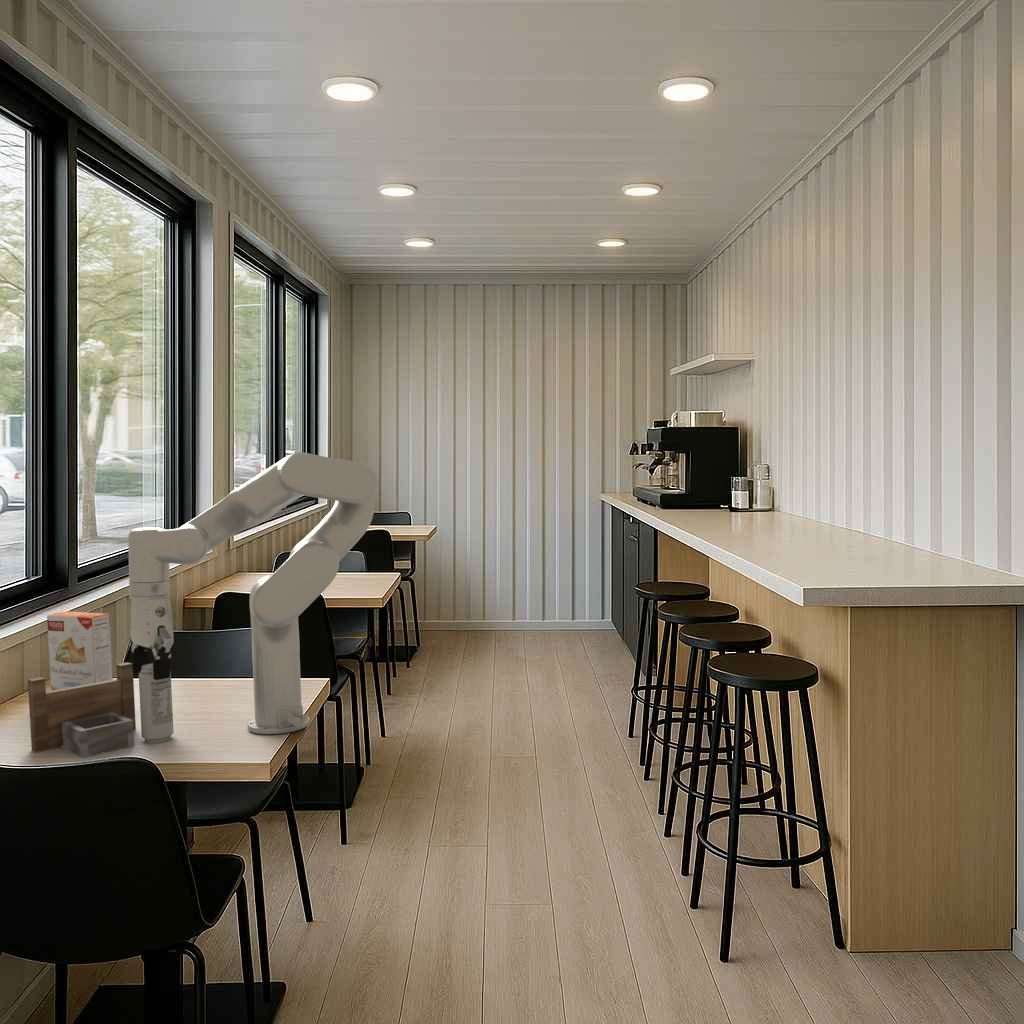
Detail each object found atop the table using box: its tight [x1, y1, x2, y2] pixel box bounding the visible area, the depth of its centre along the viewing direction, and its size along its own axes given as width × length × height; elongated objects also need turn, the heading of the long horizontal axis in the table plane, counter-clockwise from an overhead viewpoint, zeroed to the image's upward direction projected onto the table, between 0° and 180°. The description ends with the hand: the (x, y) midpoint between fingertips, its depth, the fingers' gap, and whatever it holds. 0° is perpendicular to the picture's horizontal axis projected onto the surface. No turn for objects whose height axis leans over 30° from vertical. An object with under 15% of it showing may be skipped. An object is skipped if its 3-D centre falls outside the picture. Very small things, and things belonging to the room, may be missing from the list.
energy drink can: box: [138, 662, 174, 744], centre depth 191 cm, size 6×6×15 cm
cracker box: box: [46, 610, 114, 691], centre depth 224 cm, size 14×6×21 cm, turn 68°
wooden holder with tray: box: [27, 661, 137, 758], centre depth 188 cm, size 13×20×14 cm, turn 135°
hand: (151, 675), depth 190 cm, fingers open, 9 cm apart
